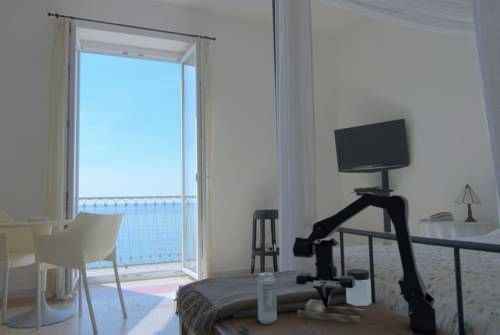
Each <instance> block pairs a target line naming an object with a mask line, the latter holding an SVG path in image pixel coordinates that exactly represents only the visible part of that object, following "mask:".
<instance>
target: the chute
mask: <svg viewBox="0 0 500 335" xmlns="http://www.w3.org/2000/svg"><path fill="white" fill-rule="evenodd" d="M325 311H326V313H324V312H314V311H307V303H305V304H304V310H303V309H297V310H296V312H297V314H296V315H297V317H299V318H306V319H315V320H325V321H326V320H327V321H333V322H342V323H343V322H344V323H351V324H361V323H362V321H361V317H364V316H365V308H356V307H355V308H354V307H345V306H335V305H328V307H325Z"/></svg>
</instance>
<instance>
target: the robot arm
mask: <svg viewBox="0 0 500 335" xmlns="http://www.w3.org/2000/svg"><path fill="white" fill-rule="evenodd" d="M370 206H371V207H375V208H379V209H384V210H386V212H387V214H388V217H389V219H390V221H391V223H392V225H393V227H394V232H395V237H396V242H397V248H398V252H399V256H400V262H401V267H402V272H403V274H402V275H403V276H401V277H400V279H399V280H397V281H398V285H399V288H400V296H402V297H403V299H404V301H405V302H406V303H408V304H409V306H410V308H411V309H410V310H411V311H410V312H409V325H410V326H409V327H410V329H411V331H412V333H415V334H422V335H438V330H437V329H438V328H437V321H436V317H437V316H436V308H435V307H434V306H435V302H436V299H435V298H434V297H433V296H432V295H431V294H430V293H429V292H428V290H427V288H426V287H427V286H426V285H425V282H424V280H423V278H422V276H421V273H420V272H419V270H418V266H417V261H416V256H415V251H414V246H413V242H412V241H413V240H412V236H411V231H410V226H409V218H410V216H409V215H410V214H409V213H410V211H409V207H410V205H409V201H408V199H407V198H406V196H403V195H400V194H396V195H395V194H394V195H391V196H389V195H382V194H376V193H373V192H365V193H363V194H362V195H361V196H360V197H358V198H357V199H355V200H354V201H353V202H352V203H350V204H348V205H347V206H345V207H344V208H342V209H341V210H340V211H338V212H336V213H335V214H334V215H331V216H328V217H326V218H323V219H321V220H319V221H316V222H315V223H314V224H313V226H312V231H311V233H310V234H309V236H308V237H301V236H297V237H295V238H294V243H293V247H292V254H293V257H295V258H305V259H307V258H308V259H312V258H313V257H314V256H315V263H314V264H315V265H314V266H315V273H316V274H315V276H312V273H309V272H301V273H299V274H298V275H297V276H296V277H295V283H296V285H303V286H305V285H306V284H307V283H313V286H312V288H313V289H315V290H316V291H317V293H318V294H319V297H320V300H322V302H323V304H324V306H325V307H328V306H329V303H330V300H331V296H332V294H333V291H334V290H335V289H336V288H337V287H338V286H340V287H341V288H345V289H346V288H353V287H354V286H355V278H354V277H353V276H347V275H342V276H340V277H338V267H337V266H336V265H335V260H334V249H333V248H334V247H336V246H338V245H339V244H340V243H339V241H337V240H336V239H335V238H334V237H332V238H330V237H331V236H333V235H334V234H335V233H336V232H337V231H338V230H339V229H340V227H341V226H343V224H345V223H346V222H348V221H350V220H351V219H352V218H354V217H355V216H357V215H359V214H360V213H362V212H363V211H364V210H366V209H367V208H369V207H370ZM328 238H330V239H328ZM317 241H320V242H317ZM326 284H327V285H326Z"/></svg>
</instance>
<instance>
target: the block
mask: <svg viewBox="0 0 500 335" xmlns="http://www.w3.org/2000/svg"><path fill="white" fill-rule="evenodd" d="M306 304H307V310H306V311H314V312H324V313H327V312H326V311H325V306H324V304H323V302H322V299H309V300H308V301H307V302H306Z"/></svg>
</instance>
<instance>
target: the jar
mask: <svg viewBox="0 0 500 335" xmlns="http://www.w3.org/2000/svg"><path fill="white" fill-rule="evenodd" d="M345 274H346V276H353V277H354V278H355V286H354V287H353V288H345V292H346V293H345V295H346V296H345V297H346V304H349V305H352V306H353V307H355V306H356V307H359V306H362V307H363V306H366V307H367V306H369V305H371V304H372V284H371V278H370V270H367V269H364V268H351V269H346V273H345Z"/></svg>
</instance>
